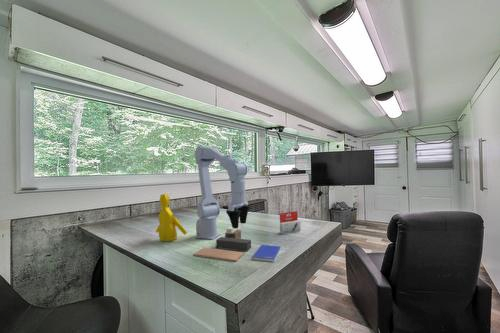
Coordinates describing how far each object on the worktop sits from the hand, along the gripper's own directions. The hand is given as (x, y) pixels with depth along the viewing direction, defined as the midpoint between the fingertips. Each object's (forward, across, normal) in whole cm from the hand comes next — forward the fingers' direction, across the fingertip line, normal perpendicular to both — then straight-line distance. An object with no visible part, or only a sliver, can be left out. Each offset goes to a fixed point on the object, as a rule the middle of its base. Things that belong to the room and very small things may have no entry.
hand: (239, 225), depth 87 cm
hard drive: (+10, -2, -12) cm, 16 cm away
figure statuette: (+9, 0, +37) cm, 38 cm away
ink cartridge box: (+10, +28, -15) cm, 33 cm away
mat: (+9, -8, +5) cm, 13 cm away
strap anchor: (+9, +8, +7) cm, 14 cm away
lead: (+10, 0, +3) cm, 10 cm away
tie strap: (+5, +11, +7) cm, 14 cm away
